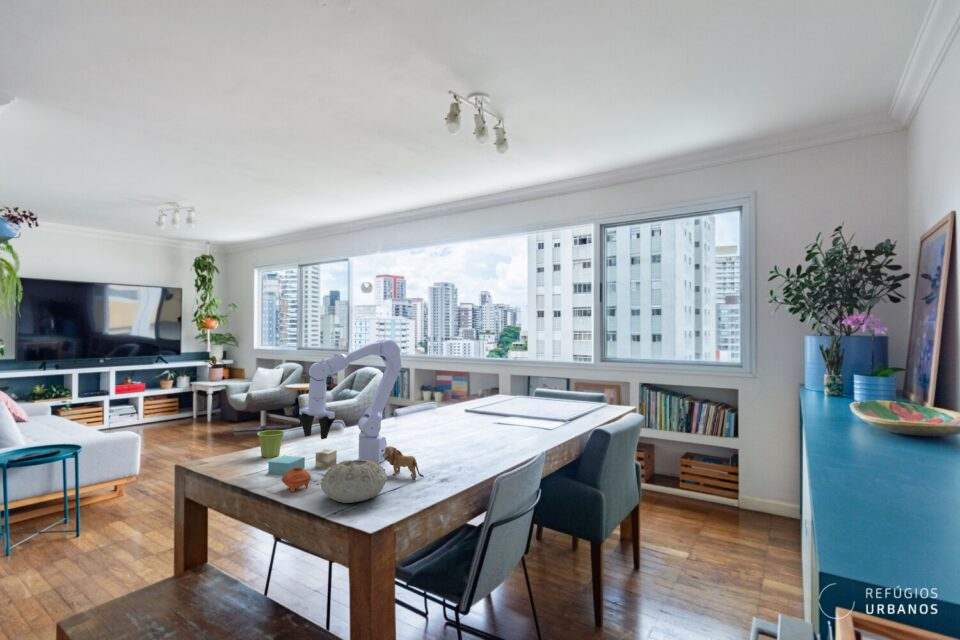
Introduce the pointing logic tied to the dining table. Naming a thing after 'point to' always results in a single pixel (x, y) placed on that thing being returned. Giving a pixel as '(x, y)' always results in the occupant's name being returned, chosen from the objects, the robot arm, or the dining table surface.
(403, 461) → the lion figurine
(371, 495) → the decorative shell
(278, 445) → the plant pot
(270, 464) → the teal base block
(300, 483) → the pot
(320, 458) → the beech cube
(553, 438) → the dining table surface
